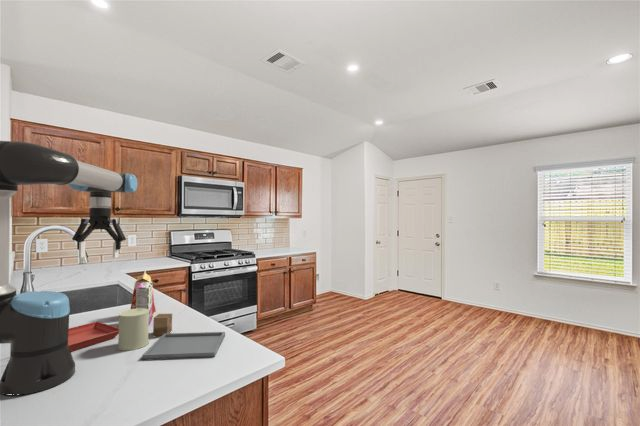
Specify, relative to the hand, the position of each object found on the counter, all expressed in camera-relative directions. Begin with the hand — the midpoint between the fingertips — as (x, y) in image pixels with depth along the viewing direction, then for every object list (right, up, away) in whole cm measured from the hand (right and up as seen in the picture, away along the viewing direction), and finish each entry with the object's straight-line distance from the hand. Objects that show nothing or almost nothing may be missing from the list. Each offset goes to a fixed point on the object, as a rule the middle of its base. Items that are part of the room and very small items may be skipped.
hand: (98, 257), depth 130 cm
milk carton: (+14, -28, +8) cm, 32 cm away
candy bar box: (+20, -28, -2) cm, 35 cm away
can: (+29, -28, -23) cm, 46 cm away
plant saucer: (+8, -28, -20) cm, 35 cm away
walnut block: (+34, -28, -13) cm, 45 cm away
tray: (+48, -28, -24) cm, 60 cm away
